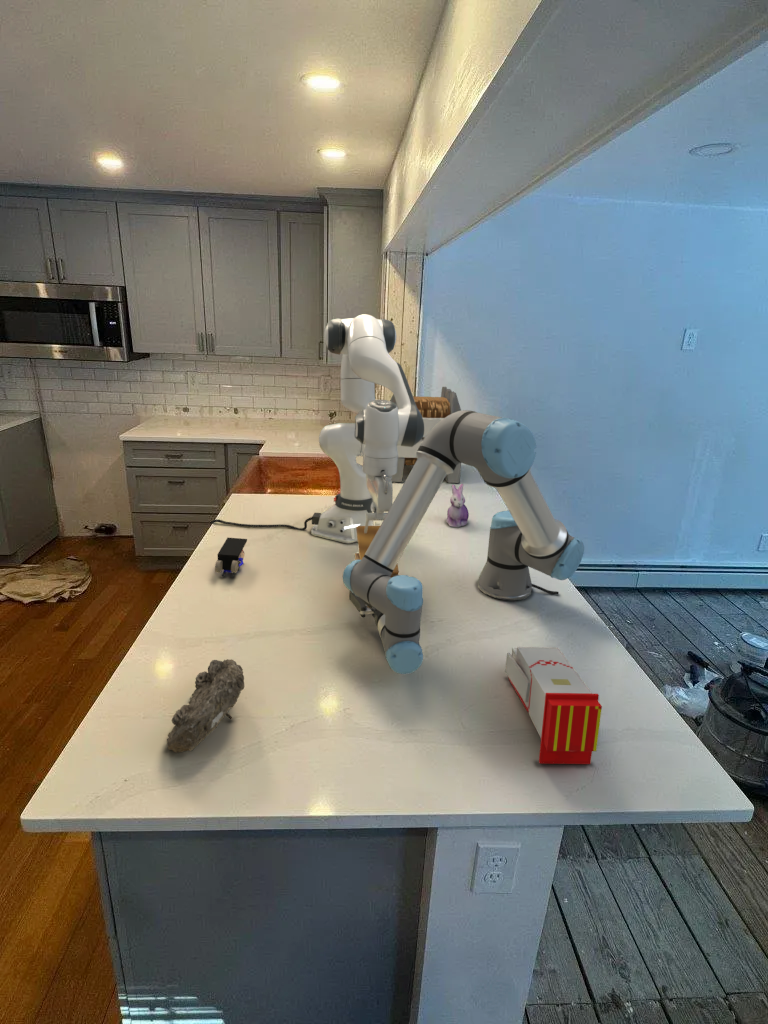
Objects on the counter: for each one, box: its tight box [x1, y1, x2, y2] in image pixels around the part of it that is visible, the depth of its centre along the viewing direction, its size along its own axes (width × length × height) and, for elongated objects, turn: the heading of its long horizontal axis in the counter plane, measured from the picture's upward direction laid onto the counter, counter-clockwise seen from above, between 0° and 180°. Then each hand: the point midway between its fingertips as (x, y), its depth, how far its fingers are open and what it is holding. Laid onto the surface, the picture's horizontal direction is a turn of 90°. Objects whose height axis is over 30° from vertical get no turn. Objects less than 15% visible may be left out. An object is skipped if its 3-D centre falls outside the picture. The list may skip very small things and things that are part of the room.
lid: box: [356, 512, 400, 575], centre depth 149 cm, size 16×10×9 cm
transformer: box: [389, 386, 462, 484], centre depth 268 cm, size 34×33×41 cm
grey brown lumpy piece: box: [166, 658, 245, 754], centre depth 106 cm, size 22×10×15 cm
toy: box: [504, 646, 603, 765], centre depth 112 cm, size 12×13×30 cm
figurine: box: [446, 483, 470, 528], centre depth 210 cm, size 9×10×15 cm
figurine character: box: [214, 537, 248, 578], centre depth 166 cm, size 7×8×15 cm
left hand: (377, 516), depth 150 cm, fingers open, 3 cm apart
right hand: (377, 579), depth 151 cm, fingers closed on chest, 10 cm apart
